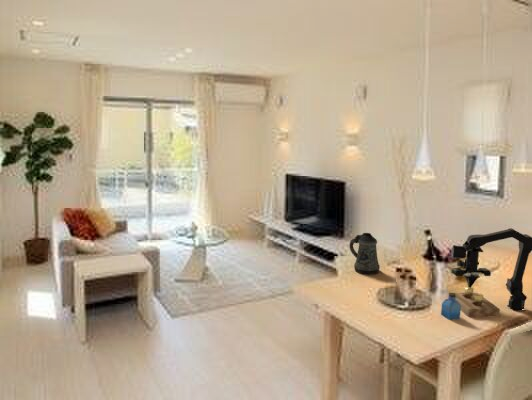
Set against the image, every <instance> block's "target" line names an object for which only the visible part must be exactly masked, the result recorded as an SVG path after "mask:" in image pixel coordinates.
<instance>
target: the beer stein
mask: <svg viewBox="0 0 532 400" xmlns="http://www.w3.org/2000/svg"><path fill="white" fill-rule="evenodd" d="M354 244H358V248H357V249H358V250H357V251H356V250H355V248H354ZM377 244H378V240H377V238H375V237H374V236H373V235H372V234H371V233H370V232H363V233H362V234H357V235H356V236H355V237H354V238H352V239H351V240H350V242H349V244H348V245H349V250H350V252H351V254H352V256H354V257H355V258H356V260H355V263H354V265H353V267H354V271H355V272H356V273H358V274H362V275H367V276H368V275H372V276H373V275H377V274H379V271H380V267H381V266H380V264H379V259H378V251H377V250H378V249H377Z"/></svg>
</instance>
